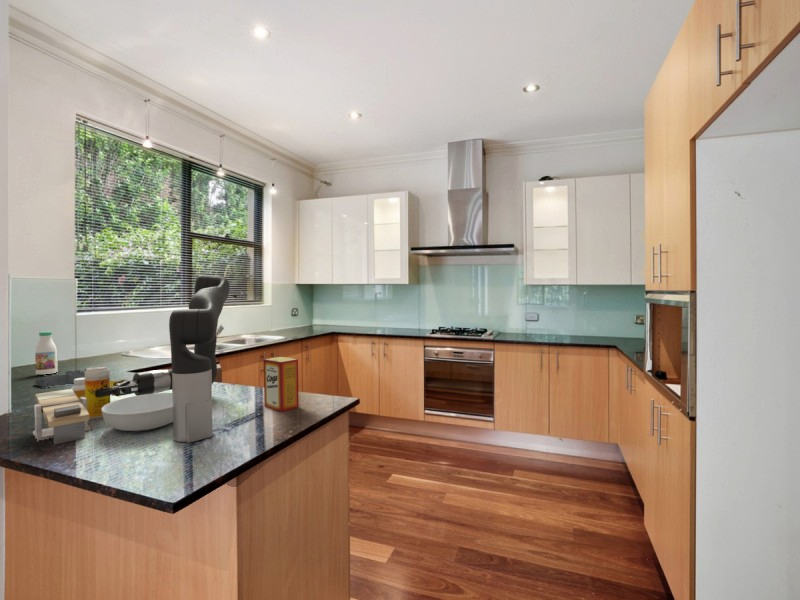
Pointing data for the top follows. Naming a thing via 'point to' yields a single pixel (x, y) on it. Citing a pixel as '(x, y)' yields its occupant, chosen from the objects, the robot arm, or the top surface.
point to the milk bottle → (46, 354)
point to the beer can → (95, 381)
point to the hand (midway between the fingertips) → (91, 391)
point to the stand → (60, 428)
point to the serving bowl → (139, 412)
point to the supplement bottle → (79, 387)
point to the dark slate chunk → (60, 379)
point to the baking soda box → (281, 383)
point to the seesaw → (61, 407)
